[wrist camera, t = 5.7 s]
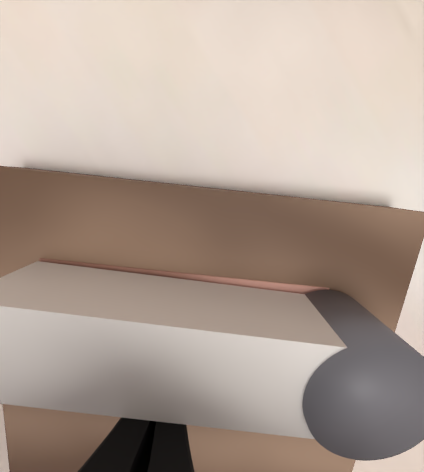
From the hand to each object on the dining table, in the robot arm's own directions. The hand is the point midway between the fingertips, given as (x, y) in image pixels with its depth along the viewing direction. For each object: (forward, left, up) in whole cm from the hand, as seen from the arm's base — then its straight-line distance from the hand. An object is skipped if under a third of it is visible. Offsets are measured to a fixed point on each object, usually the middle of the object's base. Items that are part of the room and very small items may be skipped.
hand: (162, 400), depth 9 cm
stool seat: (0, -1, -3) cm, 3 cm away
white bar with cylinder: (+3, -1, -1) cm, 3 cm away
